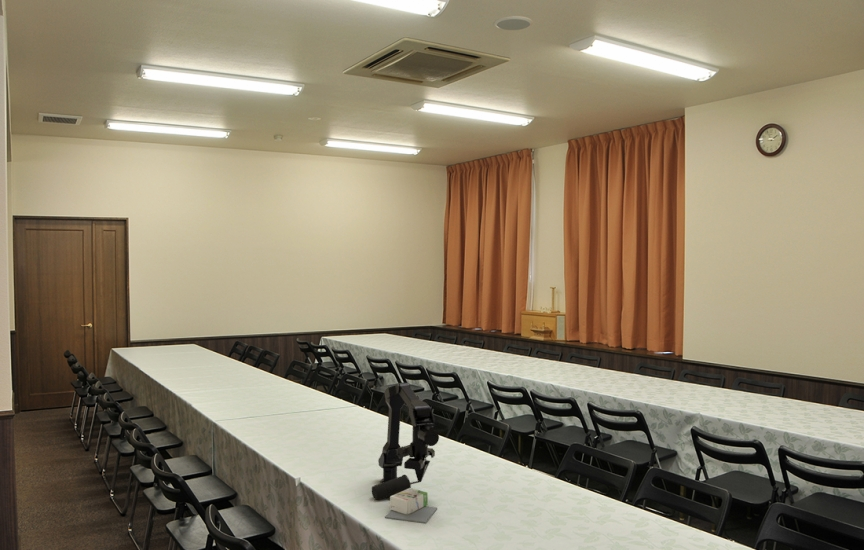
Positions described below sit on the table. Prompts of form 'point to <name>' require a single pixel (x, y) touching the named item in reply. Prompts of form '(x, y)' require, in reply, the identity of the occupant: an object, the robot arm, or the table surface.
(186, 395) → the table surface
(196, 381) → the table surface
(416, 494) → the ink box
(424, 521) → the felt mat
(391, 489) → the drinking cup
